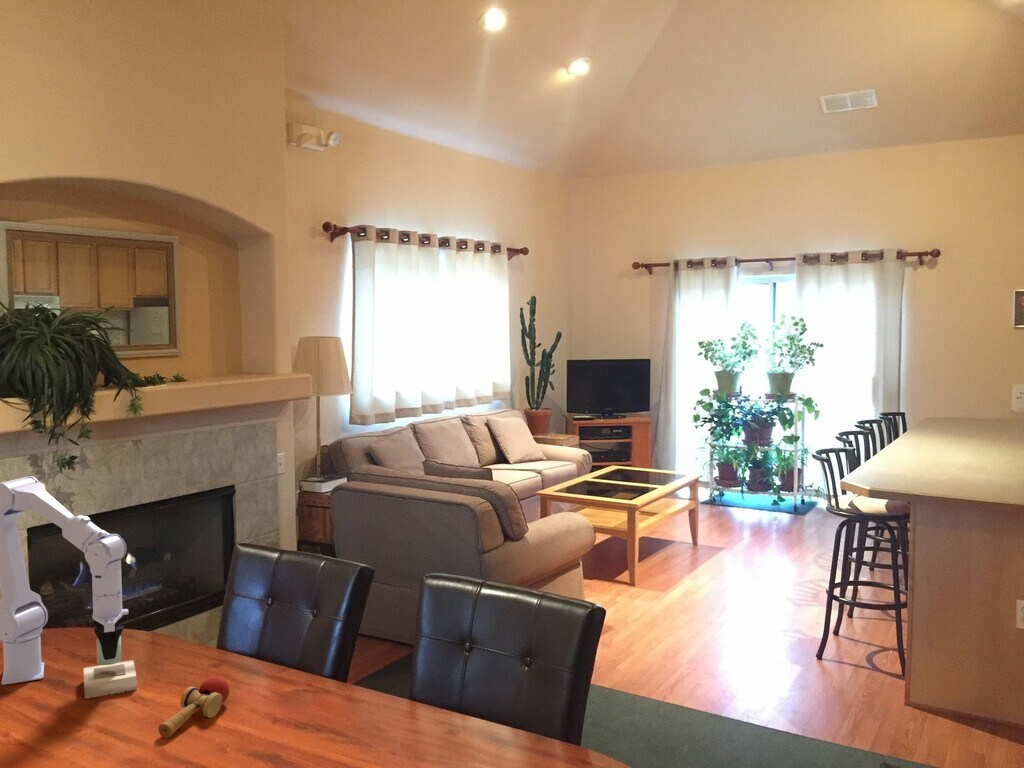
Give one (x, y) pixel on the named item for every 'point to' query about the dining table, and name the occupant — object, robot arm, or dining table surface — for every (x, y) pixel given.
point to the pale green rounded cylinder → (110, 661)
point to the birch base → (109, 679)
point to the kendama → (197, 703)
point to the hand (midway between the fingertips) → (109, 654)
